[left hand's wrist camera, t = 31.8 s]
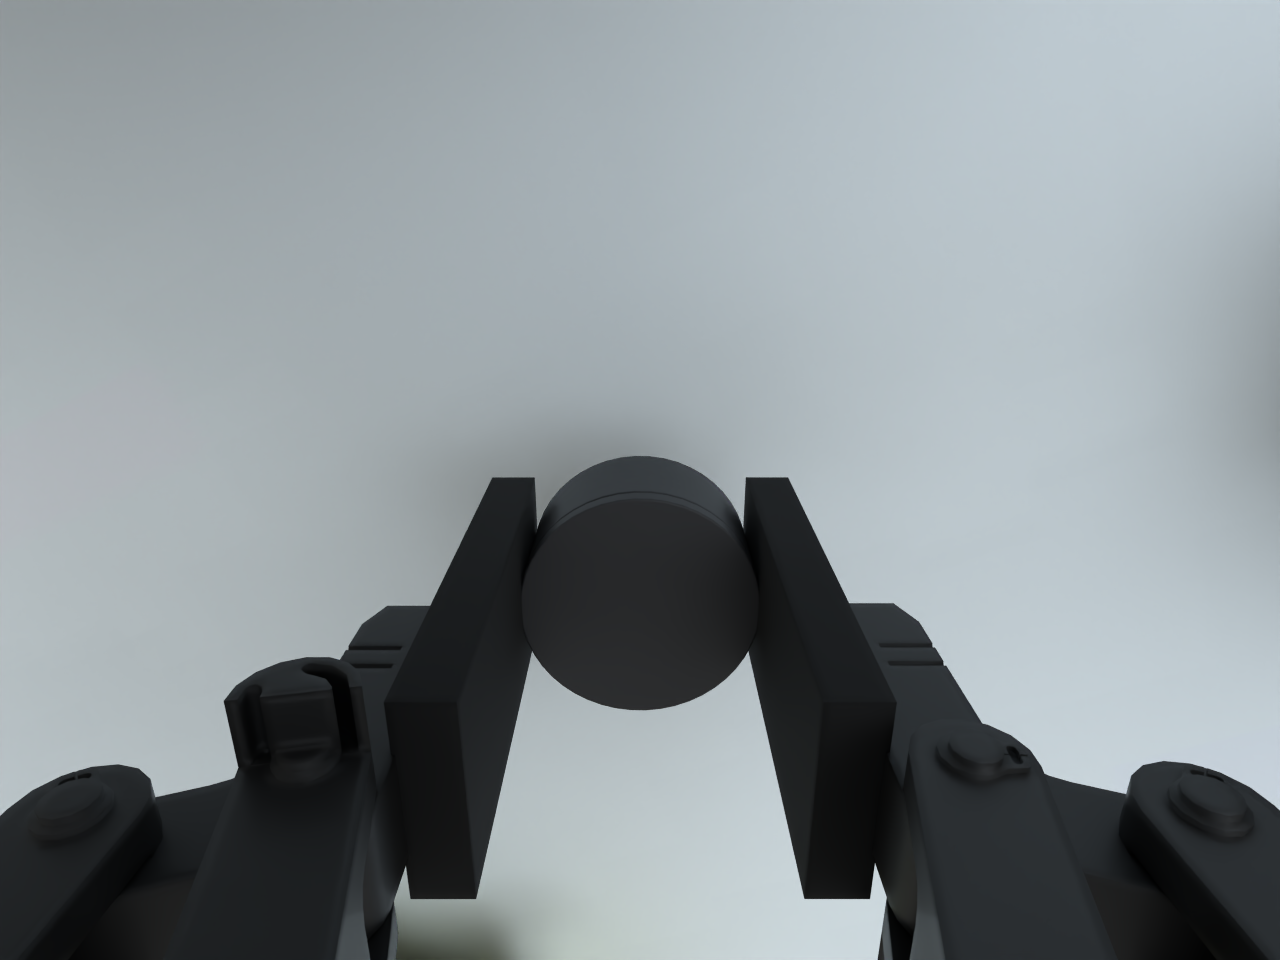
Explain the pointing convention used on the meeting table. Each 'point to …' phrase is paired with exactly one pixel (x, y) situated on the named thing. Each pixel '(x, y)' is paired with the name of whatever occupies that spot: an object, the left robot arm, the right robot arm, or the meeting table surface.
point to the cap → (640, 585)
